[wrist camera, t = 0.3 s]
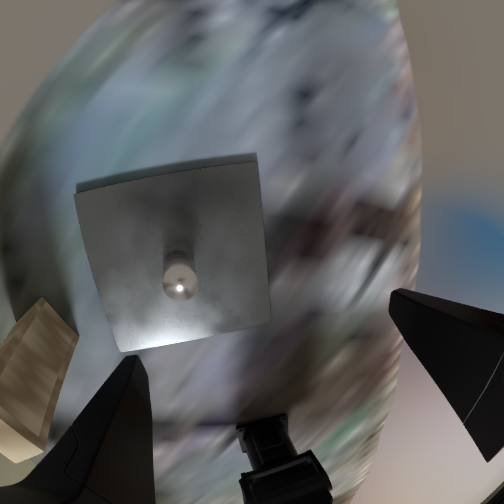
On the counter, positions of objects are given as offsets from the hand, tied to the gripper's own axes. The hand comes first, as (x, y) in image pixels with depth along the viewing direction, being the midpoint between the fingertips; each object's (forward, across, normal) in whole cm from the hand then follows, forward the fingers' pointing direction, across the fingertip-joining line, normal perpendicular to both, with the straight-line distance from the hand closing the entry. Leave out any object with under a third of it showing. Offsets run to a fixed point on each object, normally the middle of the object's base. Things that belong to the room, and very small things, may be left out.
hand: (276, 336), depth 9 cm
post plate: (+14, +4, +3) cm, 15 cm away
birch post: (+13, +18, +6) cm, 23 cm away
